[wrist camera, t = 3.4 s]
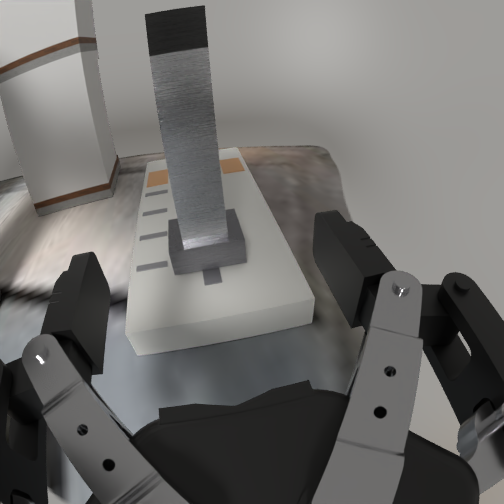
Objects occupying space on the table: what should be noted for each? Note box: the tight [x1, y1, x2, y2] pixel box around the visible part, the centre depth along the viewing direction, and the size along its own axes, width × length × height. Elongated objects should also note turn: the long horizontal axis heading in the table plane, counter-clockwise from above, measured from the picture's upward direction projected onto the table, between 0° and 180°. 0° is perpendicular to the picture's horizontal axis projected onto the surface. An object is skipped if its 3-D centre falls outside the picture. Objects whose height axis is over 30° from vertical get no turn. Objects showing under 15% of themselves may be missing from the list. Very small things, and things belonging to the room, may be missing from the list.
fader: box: [145, 6, 247, 275], centre depth 18 cm, size 5×4×16 cm
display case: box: [0, 0, 120, 216], centre depth 31 cm, size 11×11×35 cm
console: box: [125, 147, 315, 356], centre depth 31 cm, size 12×28×3 cm, turn 12°
